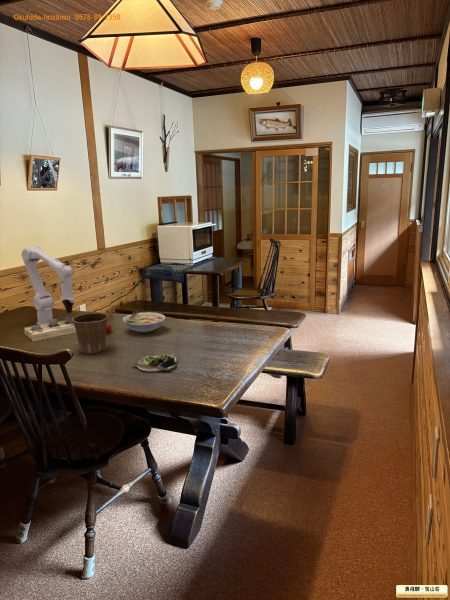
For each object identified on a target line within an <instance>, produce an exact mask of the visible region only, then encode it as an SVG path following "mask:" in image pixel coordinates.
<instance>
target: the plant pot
mask: <svg viewBox="0 0 450 600" xmlns="http://www.w3.org/2000/svg"><path fill="white" fill-rule="evenodd" d="M108 318H109V315H108V314H106V313H101V312H92V313H90V312H89V313H83V314H78V315H76V316H74V318H73V319H72V321H73V322H74V327H75V329H76V333H75V334H76V336H77V337H76V338H77V342H78V346H79V347H78V348H79V351H80V353H83V354H85V355H86V354H87V355H92V354H93V355H94V354H97V353H98V354H99V353H100V352H105V350H106V349H107V333H106V327H107V323H108Z"/></svg>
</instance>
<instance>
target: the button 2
mask: <svg viewBox="0 0 450 600" xmlns="http://www.w3.org/2000/svg"><path fill="white" fill-rule="evenodd" d="M58 322H59V320H58V319H57V318H53V319H50V320H49V327H50V328H52V327H57V326H58Z"/></svg>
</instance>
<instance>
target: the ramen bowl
mask: <svg viewBox="0 0 450 600" xmlns="http://www.w3.org/2000/svg"><path fill="white" fill-rule="evenodd" d="M165 320H166V316H165V315H164V314H162V313H159V312H151V311H147V312H140V311H139V310H136V309H135V310H133V312H132V314H129V315H127V314H126V316H124V317H123V318H122V322H123V323H124V324H125V326H126V327H128V329H130V330H132V331H134V332H138V333H143V334H144V333H146V334H147V333H150V332H152V331H154V330H157V329H158V328H160V327H161V326H162V325H163V323H164V322H165Z"/></svg>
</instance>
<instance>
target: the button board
mask: <svg viewBox="0 0 450 600" xmlns="http://www.w3.org/2000/svg"><path fill="white" fill-rule="evenodd" d="M40 326H41V330H36V331H32V328H31V326H27V327H24V328H23V333H24V335H25V336H26V337H27V338H29V339H30V340H31V341H32V342H37V341H43V340H46V339H47V338H48V339H51V338H57V337H61V336H66V335H72V334H77V333H76V329H75V327H74V323H73V324H68V325H67V324H66V319H65V320H58V326H57V327H52V328H50V327H49V323H48V324H43V325H40ZM42 339H43V340H42Z"/></svg>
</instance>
